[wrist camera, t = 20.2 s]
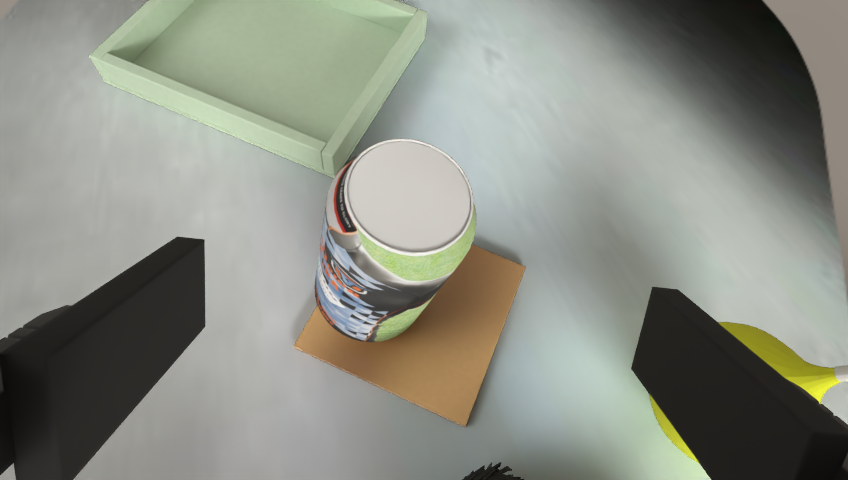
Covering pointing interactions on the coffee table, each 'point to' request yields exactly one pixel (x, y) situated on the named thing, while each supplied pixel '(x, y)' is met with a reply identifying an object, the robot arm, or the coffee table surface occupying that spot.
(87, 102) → the coffee table surface
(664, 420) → the ornament
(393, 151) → the beverage can
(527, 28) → the coffee table surface
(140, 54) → the tray
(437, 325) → the coaster
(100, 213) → the coffee table surface
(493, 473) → the figurine
